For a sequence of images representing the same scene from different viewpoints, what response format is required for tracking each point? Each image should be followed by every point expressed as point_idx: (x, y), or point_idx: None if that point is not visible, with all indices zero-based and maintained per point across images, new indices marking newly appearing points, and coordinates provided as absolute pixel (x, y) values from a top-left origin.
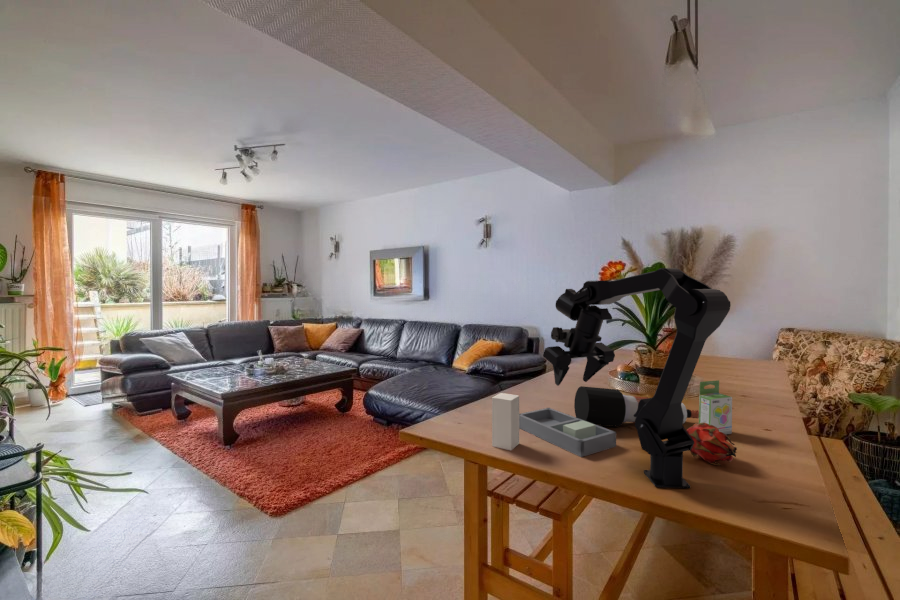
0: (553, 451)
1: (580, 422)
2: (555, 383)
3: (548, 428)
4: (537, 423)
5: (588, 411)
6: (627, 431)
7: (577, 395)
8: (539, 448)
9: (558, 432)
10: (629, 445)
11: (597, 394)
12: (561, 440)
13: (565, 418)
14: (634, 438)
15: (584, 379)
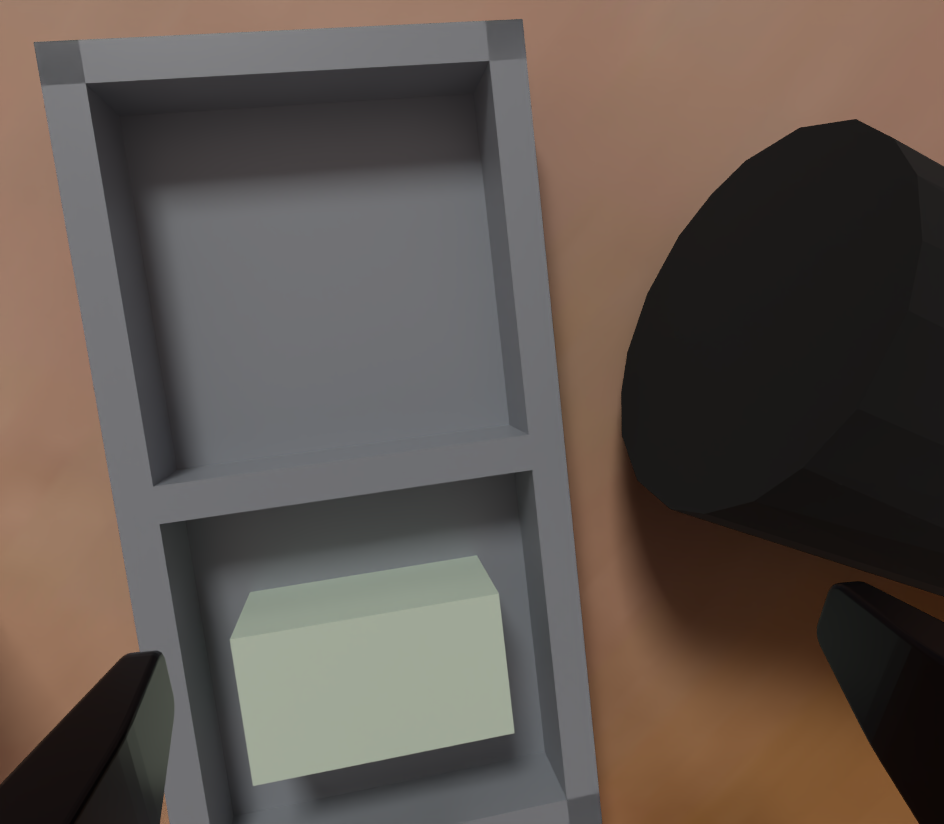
0: (82, 685)
1: (436, 631)
2: (122, 668)
3: (123, 549)
4: (95, 395)
5: (661, 500)
6: None
7: (832, 178)
8: (8, 600)
9: None
10: (661, 767)
11: (904, 504)
12: None
13: (508, 308)
14: (785, 681)
15: (842, 632)
